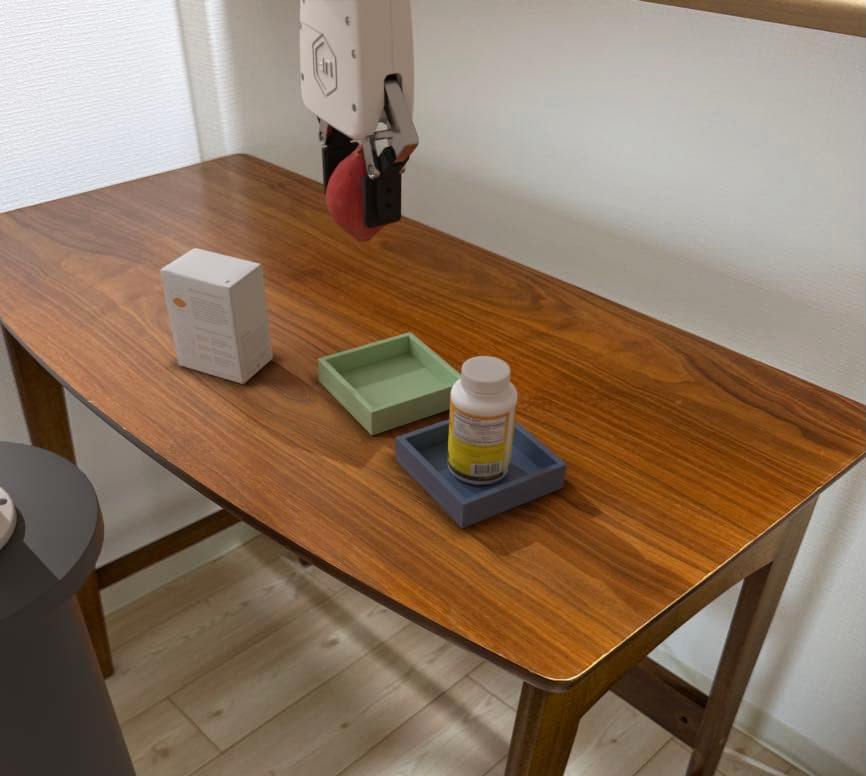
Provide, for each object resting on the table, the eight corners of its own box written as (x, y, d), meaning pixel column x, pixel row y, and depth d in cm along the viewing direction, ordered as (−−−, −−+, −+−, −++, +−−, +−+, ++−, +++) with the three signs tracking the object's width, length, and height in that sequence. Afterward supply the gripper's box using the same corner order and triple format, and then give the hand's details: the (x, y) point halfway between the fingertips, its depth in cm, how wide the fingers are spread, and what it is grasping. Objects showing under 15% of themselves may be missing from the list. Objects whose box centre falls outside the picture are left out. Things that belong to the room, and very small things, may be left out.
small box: (274, 360, 93) (264, 263, 86) (243, 386, 89) (230, 287, 82) (209, 341, 95) (194, 245, 88) (176, 366, 91) (158, 268, 84)
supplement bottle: (473, 441, 82) (481, 342, 75) (522, 467, 80) (535, 367, 73) (433, 469, 79) (437, 368, 72) (482, 497, 76) (492, 395, 70)
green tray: (371, 436, 83) (371, 412, 82) (318, 381, 90) (317, 358, 88) (467, 403, 88) (468, 381, 86) (410, 353, 94) (410, 331, 93)
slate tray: (461, 529, 74) (463, 504, 73) (395, 460, 81) (395, 437, 79) (563, 487, 79) (567, 464, 77) (492, 426, 85) (494, 402, 84)
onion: (314, 237, 76) (308, 139, 71) (369, 221, 79) (367, 125, 74) (355, 262, 73) (352, 161, 68) (410, 244, 76) (412, 146, 70)
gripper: (253, -68, 66) (275, 181, 78) (370, -20, 55) (373, 259, 67) (344, -74, 69) (351, 166, 81) (471, -30, 58) (457, 239, 70)
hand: (361, 206), depth 74 cm, fingers closed on onion, 6 cm apart
